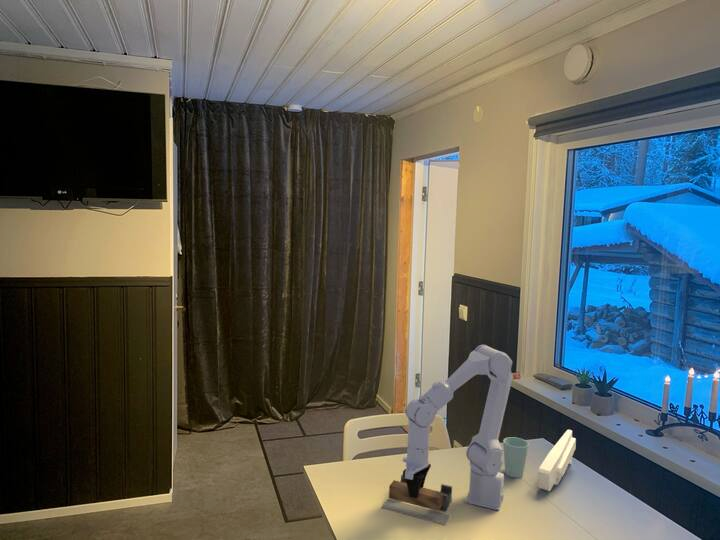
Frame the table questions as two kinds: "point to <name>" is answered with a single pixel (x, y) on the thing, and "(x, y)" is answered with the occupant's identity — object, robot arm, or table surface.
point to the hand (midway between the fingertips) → (415, 493)
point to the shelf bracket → (556, 462)
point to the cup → (515, 456)
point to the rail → (424, 498)
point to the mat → (416, 511)
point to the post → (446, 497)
